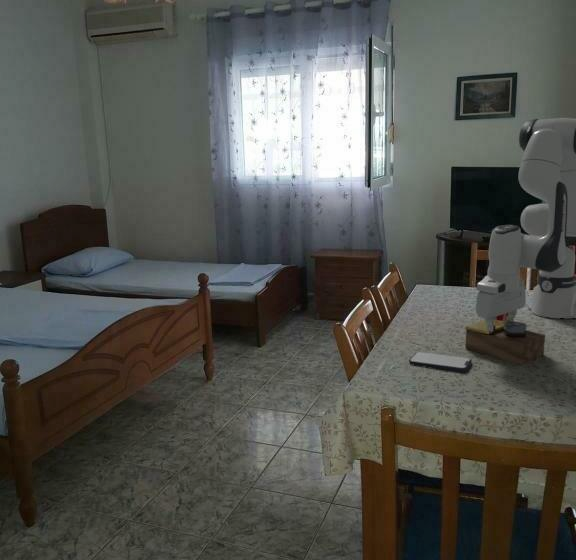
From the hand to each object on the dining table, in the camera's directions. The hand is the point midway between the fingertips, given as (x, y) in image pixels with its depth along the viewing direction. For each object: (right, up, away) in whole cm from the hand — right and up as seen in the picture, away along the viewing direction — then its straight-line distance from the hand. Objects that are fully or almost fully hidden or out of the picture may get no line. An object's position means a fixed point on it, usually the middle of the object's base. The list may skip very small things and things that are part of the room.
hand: (500, 327), depth 168 cm
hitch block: (+1, -7, +1) cm, 7 cm away
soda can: (+7, -2, +21) cm, 22 cm away
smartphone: (-20, -10, -7) cm, 23 cm away
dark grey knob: (+3, -7, -2) cm, 8 cm away
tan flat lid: (-2, 0, +3) cm, 4 cm away
